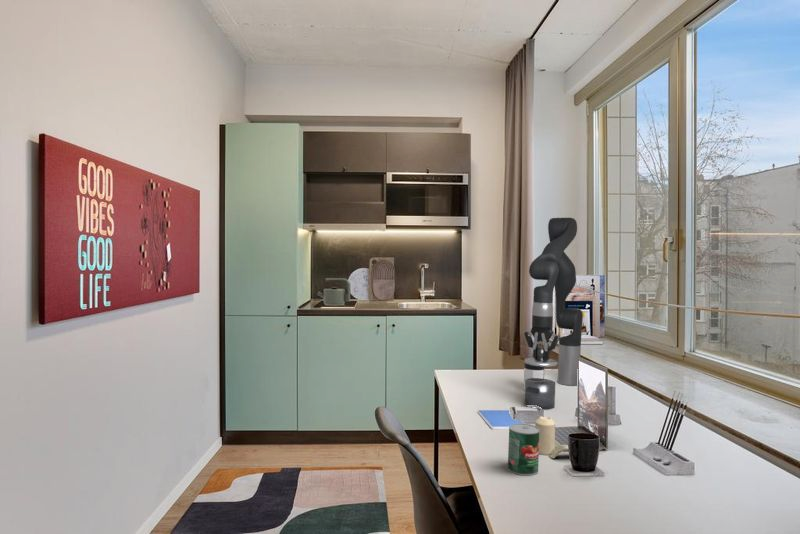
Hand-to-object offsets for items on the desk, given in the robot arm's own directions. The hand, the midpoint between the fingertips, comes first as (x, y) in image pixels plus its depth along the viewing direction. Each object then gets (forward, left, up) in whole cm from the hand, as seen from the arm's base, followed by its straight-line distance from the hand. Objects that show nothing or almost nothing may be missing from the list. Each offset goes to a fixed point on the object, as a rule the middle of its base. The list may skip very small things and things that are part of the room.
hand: (541, 359), depth 202 cm
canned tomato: (+60, +22, -17) cm, 66 cm away
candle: (+44, +21, -17) cm, 52 cm away
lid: (0, 0, -1) cm, 1 cm away
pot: (0, 0, -17) cm, 17 cm away
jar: (-19, -11, -17) cm, 28 cm away
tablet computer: (+26, -2, -18) cm, 32 cm away
